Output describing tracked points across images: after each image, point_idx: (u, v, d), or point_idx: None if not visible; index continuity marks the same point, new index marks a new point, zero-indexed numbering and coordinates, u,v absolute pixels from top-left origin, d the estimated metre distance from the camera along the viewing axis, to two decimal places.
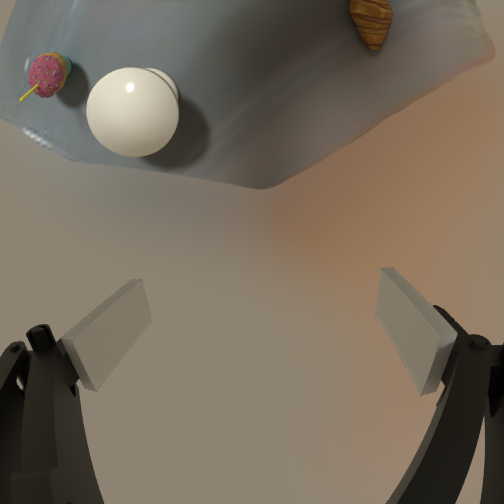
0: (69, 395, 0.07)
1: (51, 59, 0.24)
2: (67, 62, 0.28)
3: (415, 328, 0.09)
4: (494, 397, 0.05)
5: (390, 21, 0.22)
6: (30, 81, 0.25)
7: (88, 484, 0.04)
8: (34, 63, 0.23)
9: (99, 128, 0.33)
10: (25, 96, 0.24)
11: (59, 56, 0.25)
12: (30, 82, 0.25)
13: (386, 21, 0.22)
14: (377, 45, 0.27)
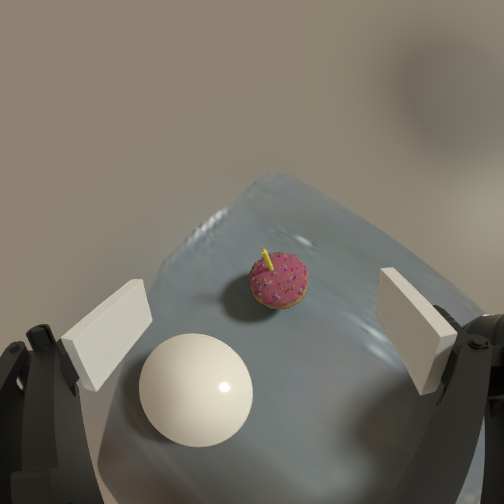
0: (69, 395, 0.07)
1: (296, 294, 0.36)
2: None
3: (415, 328, 0.09)
4: (494, 397, 0.05)
5: None
6: (281, 257, 0.38)
7: (88, 484, 0.04)
8: (302, 266, 0.38)
9: (184, 346, 0.32)
10: (265, 257, 0.34)
11: (296, 303, 0.37)
12: (280, 257, 0.38)
13: None
14: None
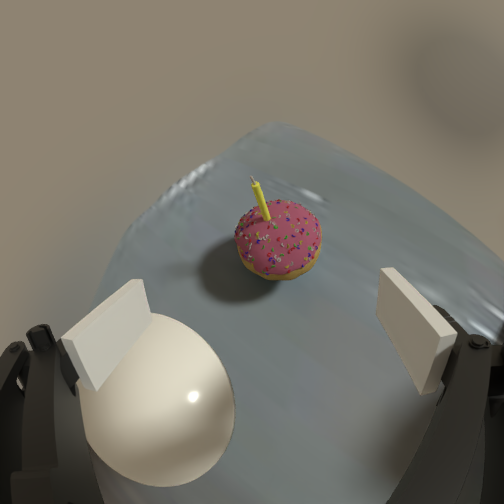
0: (69, 395, 0.07)
1: (305, 256, 0.24)
2: None
3: (415, 328, 0.09)
4: (494, 397, 0.05)
5: None
6: (281, 204, 0.26)
7: (88, 484, 0.04)
8: (312, 218, 0.26)
9: None
10: (258, 194, 0.22)
11: (304, 270, 0.25)
12: (280, 204, 0.26)
13: None
14: None
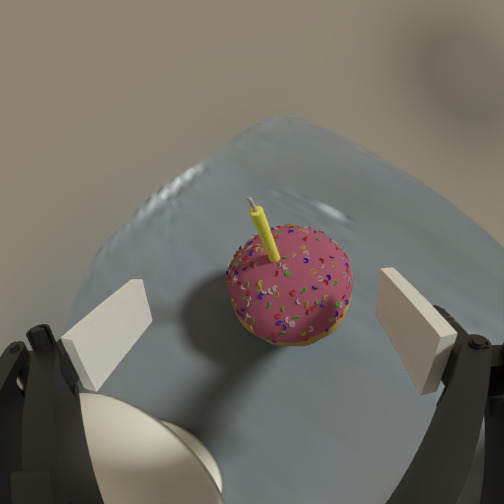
0: (69, 395, 0.07)
1: (331, 316, 0.16)
2: None
3: (415, 328, 0.09)
4: (494, 397, 0.05)
5: None
6: (296, 234, 0.17)
7: (88, 484, 0.04)
8: (340, 255, 0.17)
9: (88, 417, 0.12)
10: (261, 226, 0.13)
11: (327, 334, 0.16)
12: (294, 233, 0.17)
13: None
14: None
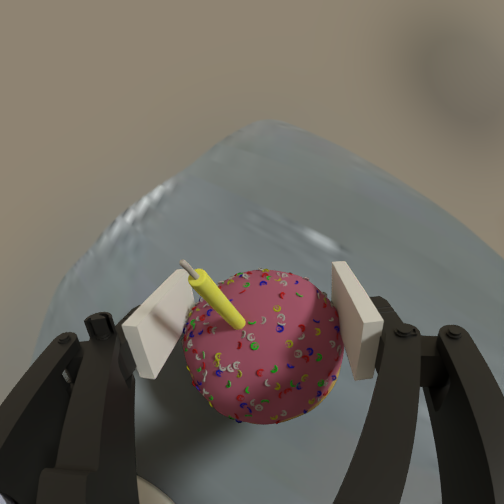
0: (124, 388, 0.08)
1: (312, 396, 0.11)
2: None
3: (350, 316, 0.10)
4: (436, 390, 0.07)
5: None
6: (270, 287, 0.13)
7: (127, 485, 0.04)
8: (330, 313, 0.13)
9: None
10: (207, 296, 0.09)
11: (307, 411, 0.12)
12: (267, 286, 0.13)
13: None
14: None
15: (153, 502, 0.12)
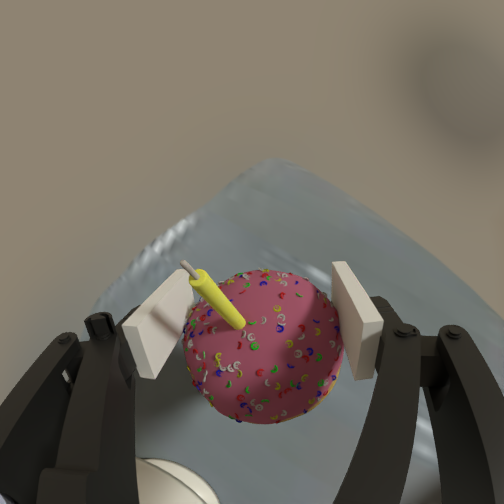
0: (124, 388, 0.08)
1: (312, 395, 0.11)
2: None
3: (350, 315, 0.10)
4: (436, 390, 0.07)
5: None
6: (270, 288, 0.13)
7: (127, 485, 0.04)
8: (330, 313, 0.13)
9: None
10: (208, 297, 0.09)
11: (307, 411, 0.12)
12: (267, 286, 0.13)
13: None
14: None
15: (190, 482, 0.17)
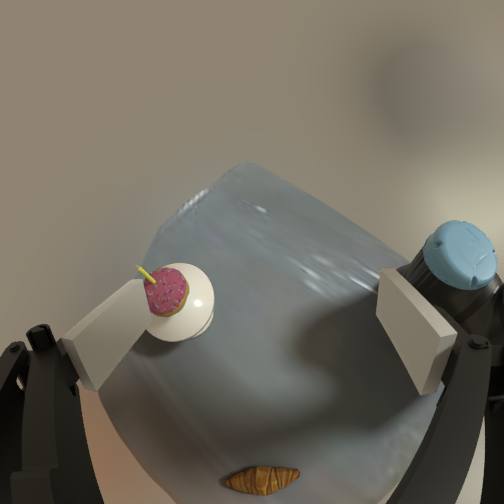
0: (69, 395, 0.07)
1: (173, 305, 0.41)
2: None
3: (415, 328, 0.09)
4: (494, 397, 0.05)
5: (255, 493, 0.32)
6: (164, 272, 0.42)
7: (88, 484, 0.04)
8: (182, 281, 0.42)
9: None
10: (142, 273, 0.39)
11: (174, 312, 0.41)
12: (163, 272, 0.42)
13: (254, 491, 0.32)
14: (230, 485, 0.34)
15: None
